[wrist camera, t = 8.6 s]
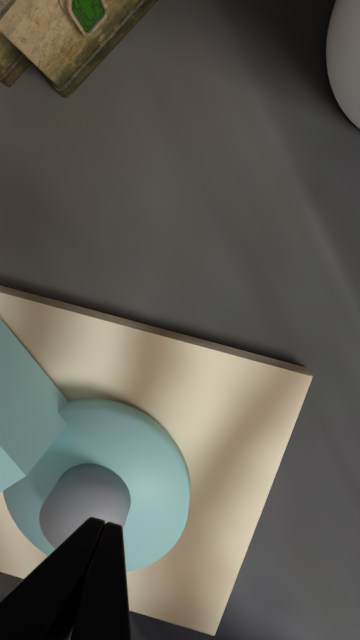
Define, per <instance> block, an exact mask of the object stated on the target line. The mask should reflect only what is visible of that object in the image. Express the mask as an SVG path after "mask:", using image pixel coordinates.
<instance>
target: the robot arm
mask: <svg viewBox="0 0 360 640" xmlns="http://www.w3.org/2000/svg"><path fill="white" fill-rule="evenodd" d="M72 630H73V631H72ZM71 632H72V636H71V640H132V638H131V625H130V613H129V600H128V588H127V575H126V562H125V550H124V537H123V527H122V526H121V525H120V524H116V523H113V522H107V523H106V522H105V521H104V520H102V519H99V518H96V517H89V518H88V519H87V520H86V521H85V522H84V523H83V524H82V525H80V526H79V527H78V528H77V529H76V530H75V531H74V532H73V533H72V534H71V535H70V536H69V537H68V538H67V539H66V540H65V541H63V542H62V543H61V544H60V545H59V546H58V547H57V548H56V549H55V550H54V551H53V552H52V553H51V554H50V555H49V556H48V557H47V558H45V559H44V560H43V561H42V562H41V563H40V564H39V565H38V566H37V567H36V568H35V569H34V570H33V571H32V572H31V573H30V574H28V575H27V576H26V577H25V578H24V579H23V580H22V581H21V582H20V583H19V584H18V585H17V586H16V587H15V588H14V589H13V590H12V591H10V592H9V593H8V594H7V595H6V596H5V597H4V598H3V599H2V600H1V601H0V640H68V639H69V637H70V635H71Z"/></svg>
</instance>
